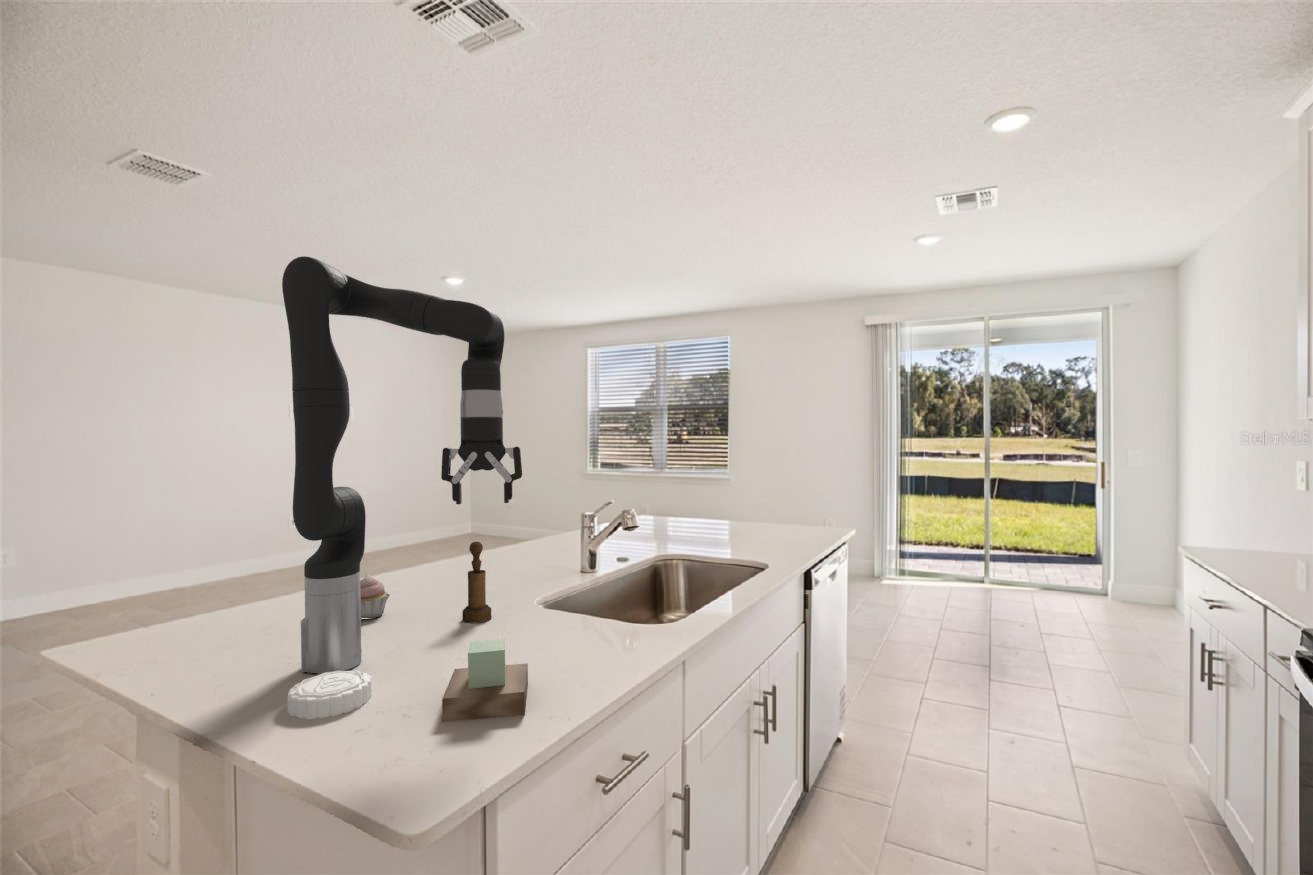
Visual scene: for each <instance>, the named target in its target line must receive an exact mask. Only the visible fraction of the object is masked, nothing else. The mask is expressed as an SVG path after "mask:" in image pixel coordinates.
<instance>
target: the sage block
mask: <svg viewBox="0 0 1313 875" xmlns="http://www.w3.org/2000/svg"><path fill="white" fill-rule="evenodd" d="M505 642H506V639H505V638H500V639H498V638H497V639H489V640H488V639H487V640H479V641H478V640H477V641H470V642H469V646H468V651H467V668H468V689H473V688H482V687H491V686H501V685H505V665H506V643H505Z"/></svg>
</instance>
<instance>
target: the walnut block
mask: <svg viewBox="0 0 1313 875" xmlns="http://www.w3.org/2000/svg"><path fill="white" fill-rule="evenodd" d="M528 666H529V665H528V663H515V664H505V685H501V686H491V687H482V688H473V689H468V667H463V668H461V667H460V668H454V670H453V671H452V672H453V673H452V674H451V676H450V679H449V682H448V684H447V687H446V688H445V691H444V693H443V696H442V698H441V700H442V701H441V704H442V705H441V706H442V708H441V710H442V712H441V713H442V723H450V722H461V721H470V720H471V721H472V720H473V721H474V720H484V719H495V718H506V717H507V718H508V717H517V716H525V715H526V708H527V700H528V698H527V697H528V686H529V667H528Z"/></svg>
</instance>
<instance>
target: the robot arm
mask: <svg viewBox="0 0 1313 875" xmlns="http://www.w3.org/2000/svg"><path fill="white" fill-rule="evenodd" d="M282 274H283V275H282V280H281V288H282V295H283V302H284V309H285V315H286V319H287V326H288V334H289V345H290V346H289V347H290V362H291V363H290V364H291V373H292V374H291V376H292V377H291V381H292V382H291V383H292V384H291V385H292V386H291V388H292V390H291V392H292V407H293V409H292V411H293V419H294V420H293V421H294V448H295V449H294V454H295V460H294V461H295V464H294V479H293V480H294V483H293V496H292V518H293V519H292V520H293V523H294V526H295V529H296V530H297V532H298V534H299V535H300V536H302V538H304V539H306V540H308V541H314V542H317V541H320V545H319V547H318V549H317V550H315V552H314V553H313V554H312V555H311V556H310V557H309V558H308V559H306V561H305V563H304V564H303V565H304V567H303V574H304V575H303V576H304V617H303V618H302V619H301V620H300V653H301V654H300V661H301V662H300V663H301V665H300V668H301V669H300V670H301V672H302V674H303V672H308V674H312V673H317V674H316V675H320V674H323V673H325V672H334V671H337V670H338V671H349V670H351V669H354V668H355V667H357V666H359V665H360V664H361V662H362V650H363V649H362V620H361V599H360V580H361V562H362V559H363V557H364V553H365V547H366V546H365V544H366V543H365V542H366V523H367V522H366V521H367V520H366V519H367V518H366V516H367V515H366V507H365V502H364V499H363V498H362V496H361V495H360V493H359V492H358V491H357V490H356V489H354V488H353V487H349V486H336V487H334V482H333V481H334V479H333V476H334V475H333V467H334V460H335V456H336V452H337V450H338V447H339V445H340V443H341V441H342V439H343V436H344V434H345V432H346V430H347V426H348V424H349V422H350V421H349V420H350V415H351V414H350V413H351V411H350V410H351V408H350V406H351V404H350V391H349V390H350V389H349V382H348V377H347V374H346V371H345V369H344V366H343V364H342V361H341V359H340V357H339V355H338V352H337V350H336V348H335V345H334V342H333V338H332V334H331V327H330V315H336V316H337V315H338V316H350V317H351V316H352V317H360V318H368V319H372V320H377V321H382V322H385V323H388V324H391V325H395V326H398V327H402V328H405V329H409V330H412V331H416V332H421V333H425V334H429V335H434V336H446V337H449V338H452V339H456V340H460V341H463V342H467V343H468V350H467V358H466V360H464V361H463V362H462V365H461V370H460V372H461V373H460V375H461V379H460V380H461V382H460V383H461V386H460V388H461V394H460V406H459V407H460V409H459V411H460V414H459V415H460V418H459V420H460V444H459V447H458V448H451V447H444V448H442V452H441V453H442V455H441V456H442V457H441V477H440V478H441V480H442V481H446V482H448V483H450V484H451V490H452V491H451V498H452V501H453V502H455V503H456V504H455V505H461V504H462V503H463V502H462V501H463V500H462V483H461V481H462V479H463V478H464V476H465V475H466V474H467V473H468V472H469V471H470V470H471V471H473V472H478V471H481V470H483V471H492V470H494V469H495V470H496V471H497V473H498V474H499V475H500V476H501V477H502V478H503V480H504V482H503V502H504V504H509V501H510V500H512V499H513V483H514V481H517V480H518V479H519V480H520V479H521V478H522V477H523V469H522V455H521V453H522V452H521V447H520V446H519V445H518V446H517V445H516V446H512V447H505V445H504V424H503V422H504V420H503V419H504V416H503V415H504V409H503V398H502V391H501V390H502V387H501V386H502V384H501V383H502V382H501V378H502V376H501V363H502V359H503V352H504V346H505V328H504V324H503V321H502V319H501V317H500V316H499V315H498V314H497V313H495V312H493V311H492V310H490V309H489V308H487V307H486V306H483V305H481V304H477V303H473V302H468V301H463V300H462V301H461V300H455V299H454V300H453V299H446V298H443V297H440V296H436V295H431V294H429V293H424V292H421V291H415V290H409V289H402V288H388V287H381V286H377V285H372V284H368V283H366V282H364V281H362V280H359V279H357V278H354V277H352V276H350V275H348V274H345V273H343V272H342V271H341V270H339V269H337V267H334V266H332V265H330V264H328V263H327V262H324V261H321V260H319V259H317V258H314V257H311V256H307V255H306V256H303V255H302V256H297V257H295V258H294V259H292V260H291V261H289V263H288V264H287V265H286V267H285V269H284V271H283V273H282ZM506 454H507V455H508V456H509V458H510V459H512V460H513V466H514V468H513V469H514V473H510V472H509V471H508V470H507V468H506V467H505V466H504V464H503V463H502V462H501V461H502V459H503V458H504V457H505V455H506ZM457 455H458V456H459V458H460V459H461V460H462V461H463V463H462V464H461V466H460V467H459V469H458V470H457V472H456V473H455V474H451V473H452V472H451V471H452V470H451V468H452V467H451V466H452V460H454V459H456V456H457Z"/></svg>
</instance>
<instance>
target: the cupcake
mask: <svg viewBox="0 0 1313 875" xmlns="http://www.w3.org/2000/svg"><path fill="white" fill-rule="evenodd" d="M390 595H391V593H388V592H386V591H385V585H384V584H383V582H382V581H380V580H378V579H376V578H375V577H373V576H372V575H369V574H366V575H365V576H364V577H363V578H362V579H360V599H361V618H374V619H377V618H376V617H378V618H380V617H382V616H383V615H384V612H385V608H386V604H387V601H388V599H389V597H390ZM382 614H383V615H382ZM381 615H382V616H381ZM379 616H380V617H379Z"/></svg>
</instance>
